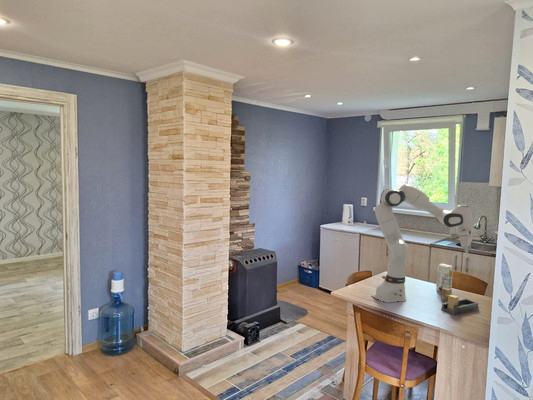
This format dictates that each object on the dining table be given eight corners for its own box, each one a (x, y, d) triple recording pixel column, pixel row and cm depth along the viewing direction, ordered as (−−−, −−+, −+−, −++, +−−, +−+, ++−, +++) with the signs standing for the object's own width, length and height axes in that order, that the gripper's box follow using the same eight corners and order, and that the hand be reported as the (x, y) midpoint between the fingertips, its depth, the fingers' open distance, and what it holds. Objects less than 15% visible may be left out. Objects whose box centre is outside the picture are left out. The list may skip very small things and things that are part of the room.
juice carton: (445, 294, 250) (448, 267, 248) (434, 290, 257) (436, 264, 255) (452, 292, 253) (454, 265, 252) (441, 288, 261) (443, 262, 259)
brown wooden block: (450, 301, 237) (451, 289, 236) (446, 302, 235) (447, 290, 234) (444, 299, 241) (445, 287, 240) (440, 299, 239) (441, 288, 238)
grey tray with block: (454, 315, 214) (455, 299, 213) (441, 309, 222) (442, 294, 221) (478, 309, 224) (479, 294, 223) (464, 304, 232) (466, 289, 231)
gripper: (463, 226, 244) (465, 246, 246) (457, 233, 228) (459, 254, 230) (473, 225, 240) (476, 246, 242) (468, 233, 225) (471, 255, 226)
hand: (468, 250), depth 236 cm, fingers open, 8 cm apart
